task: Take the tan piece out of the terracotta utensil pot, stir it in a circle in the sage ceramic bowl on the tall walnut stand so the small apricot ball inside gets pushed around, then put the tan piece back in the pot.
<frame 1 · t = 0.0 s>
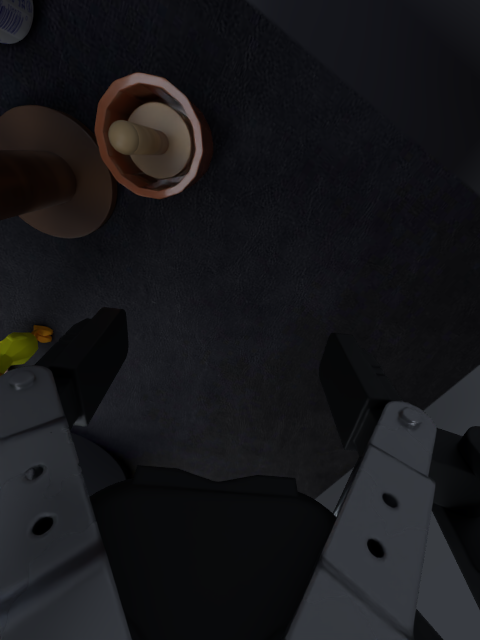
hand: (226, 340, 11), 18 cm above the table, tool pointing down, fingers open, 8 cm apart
tan piece: (173, 144, 24), resting on holder
toy figure: (46, 332, 34), on the table
holder: (174, 144, 24), on the table
stand: (59, 177, 25), on the table
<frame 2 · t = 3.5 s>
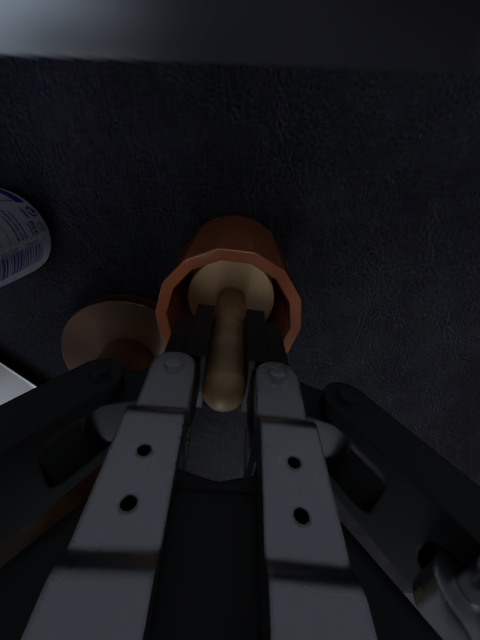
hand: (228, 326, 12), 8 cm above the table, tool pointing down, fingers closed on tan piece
beverage can: (18, 228, 18), on the table
tan piece: (233, 267, 19), point 1 cm above the table, touching gripper
holder: (233, 265, 19), on the table
stand: (134, 351, 23), on the table
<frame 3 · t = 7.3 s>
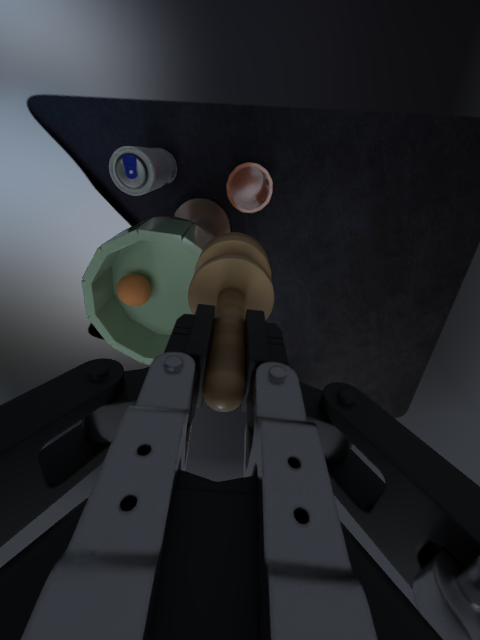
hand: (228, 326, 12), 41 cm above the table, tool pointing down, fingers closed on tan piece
ball: (134, 290, 27), point 27 cm above the table, touching bowl
beverage can: (162, 166, 46), on the table
tan piece: (233, 267, 19), point 34 cm above the table, touching gripper
bowl: (172, 284, 29), resting on stand
holder: (248, 183, 47), on the table
stand: (202, 228, 50), on the table
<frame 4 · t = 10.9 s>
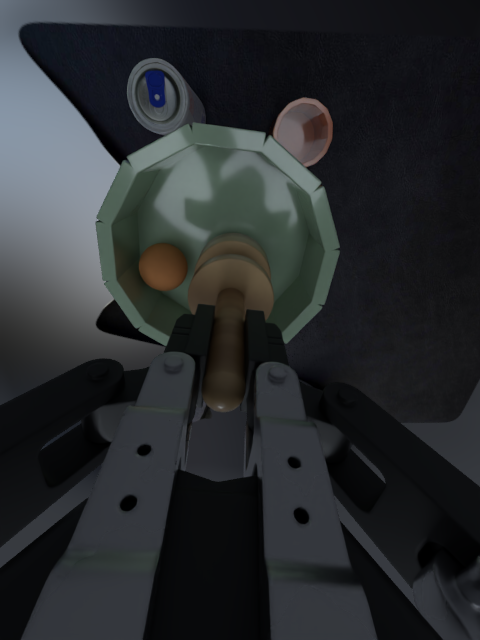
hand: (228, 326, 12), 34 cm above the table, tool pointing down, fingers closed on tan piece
ball: (163, 267, 18), point 27 cm above the table, tilted 44°, touching bowl
beverage can: (187, 117, 37), on the table
tan piece: (233, 268, 19), point 27 cm above the table, touching gripper
bowl: (223, 242, 20), resting on stand
holder: (292, 138, 38), on the table
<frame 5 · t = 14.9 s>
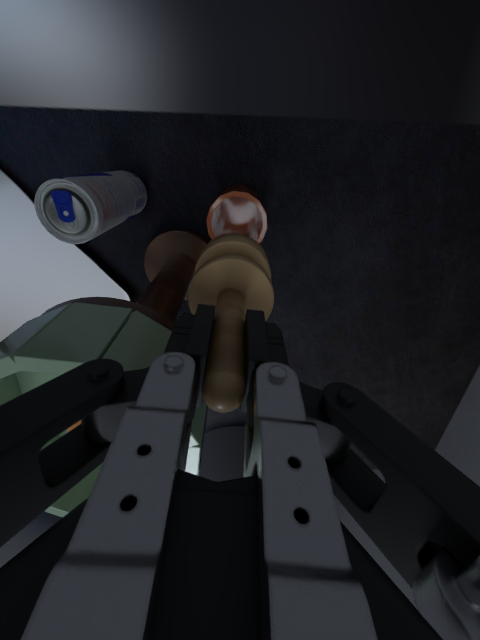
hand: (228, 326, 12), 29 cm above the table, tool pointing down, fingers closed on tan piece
beverage can: (129, 192, 37), on the table
tan piece: (233, 268, 19), point 21 cm above the table, touching gripper
bowl: (114, 388, 19), resting on stand
holder: (237, 212, 37), on the table
stand: (182, 264, 41), on the table
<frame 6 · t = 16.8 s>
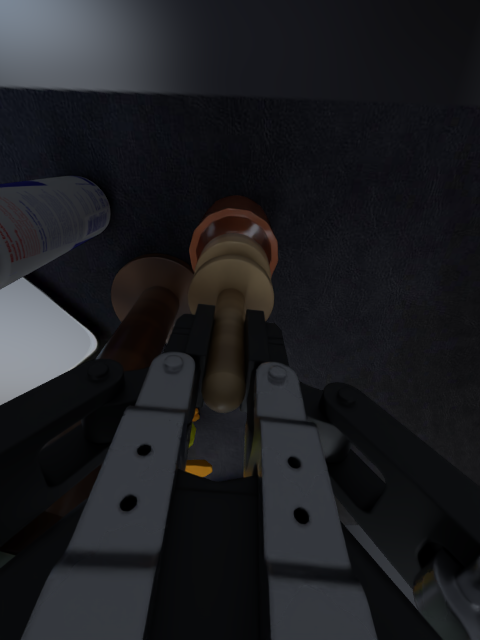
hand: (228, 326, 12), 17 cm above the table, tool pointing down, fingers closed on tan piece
beverage can: (86, 205, 27), on the table
tan piece: (233, 268, 19), point 10 cm above the table, touching gripper
toy figure: (193, 412, 40), on the table
holder: (235, 231, 28), on the table
stand: (162, 298, 31), on the table
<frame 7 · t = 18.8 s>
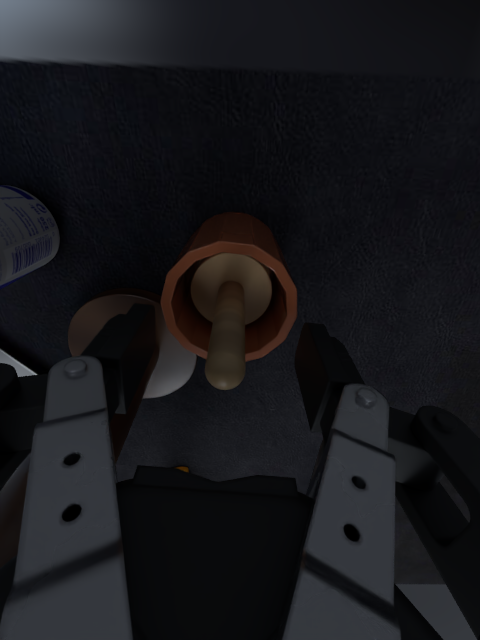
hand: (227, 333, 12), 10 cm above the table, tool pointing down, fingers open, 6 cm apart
beverage can: (28, 225, 19), on the table
tan piece: (233, 263, 20), resting on holder
holder: (233, 259, 20), on the table
stand: (138, 343, 24), on the table
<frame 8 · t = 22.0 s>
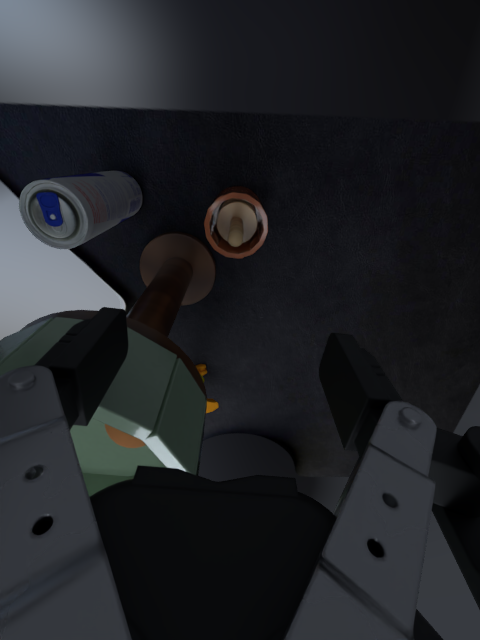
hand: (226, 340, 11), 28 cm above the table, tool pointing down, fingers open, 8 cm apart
ball: (136, 415, 15), point 27 cm above the table, tilted 84°, touching bowl
beverage can: (123, 193, 35), on the table
tan piece: (237, 215, 35), resting on holder
bowl: (102, 408, 18), resting on stand
toy figure: (201, 368, 48), on the table
holder: (237, 214, 36), on the table
stand: (179, 268, 39), on the table
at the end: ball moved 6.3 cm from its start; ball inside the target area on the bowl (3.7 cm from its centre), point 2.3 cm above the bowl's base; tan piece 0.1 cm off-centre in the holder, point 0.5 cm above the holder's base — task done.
